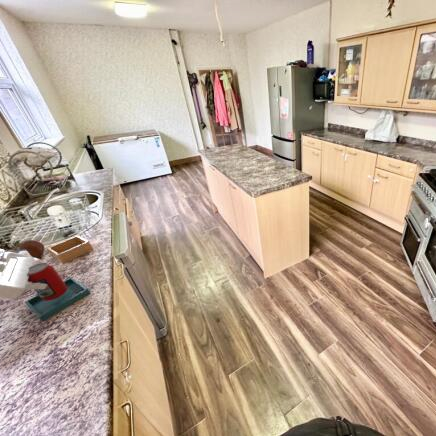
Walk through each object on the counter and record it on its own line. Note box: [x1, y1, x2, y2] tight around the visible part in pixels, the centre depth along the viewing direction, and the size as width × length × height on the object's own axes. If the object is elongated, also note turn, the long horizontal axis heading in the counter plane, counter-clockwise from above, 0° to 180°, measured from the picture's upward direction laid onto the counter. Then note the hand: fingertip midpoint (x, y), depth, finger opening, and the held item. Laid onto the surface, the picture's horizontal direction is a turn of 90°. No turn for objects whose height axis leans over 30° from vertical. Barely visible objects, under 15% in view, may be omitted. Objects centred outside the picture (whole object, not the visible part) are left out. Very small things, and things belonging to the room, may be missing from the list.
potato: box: [18, 239, 45, 259], centre depth 104 cm, size 8×12×8 cm, turn 47°
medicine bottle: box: [13, 249, 43, 265], centre depth 90 cm, size 7×7×12 cm
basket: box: [46, 235, 94, 265], centre depth 106 cm, size 12×12×4 cm
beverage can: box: [27, 262, 67, 301], centre depth 78 cm, size 7×7×12 cm
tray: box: [24, 276, 91, 323], centre depth 82 cm, size 13×13×2 cm
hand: (47, 279), depth 78 cm, fingers closed on beverage can, 7 cm apart
